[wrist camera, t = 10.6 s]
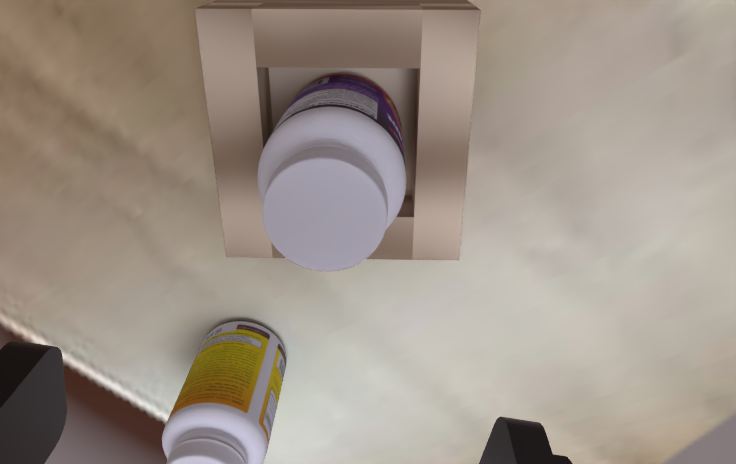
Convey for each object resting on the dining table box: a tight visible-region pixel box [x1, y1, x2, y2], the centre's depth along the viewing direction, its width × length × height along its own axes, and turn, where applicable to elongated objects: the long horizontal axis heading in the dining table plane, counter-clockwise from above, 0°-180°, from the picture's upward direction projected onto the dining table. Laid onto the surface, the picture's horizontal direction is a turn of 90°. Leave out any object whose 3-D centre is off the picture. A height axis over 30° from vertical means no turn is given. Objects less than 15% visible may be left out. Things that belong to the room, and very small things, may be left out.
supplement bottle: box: [162, 321, 286, 464], centre depth 33 cm, size 6×6×10 cm
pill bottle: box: [258, 72, 406, 271], centre depth 22 cm, size 5×5×10 cm
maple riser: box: [195, 0, 481, 260], centre depth 27 cm, size 11×11×6 cm
